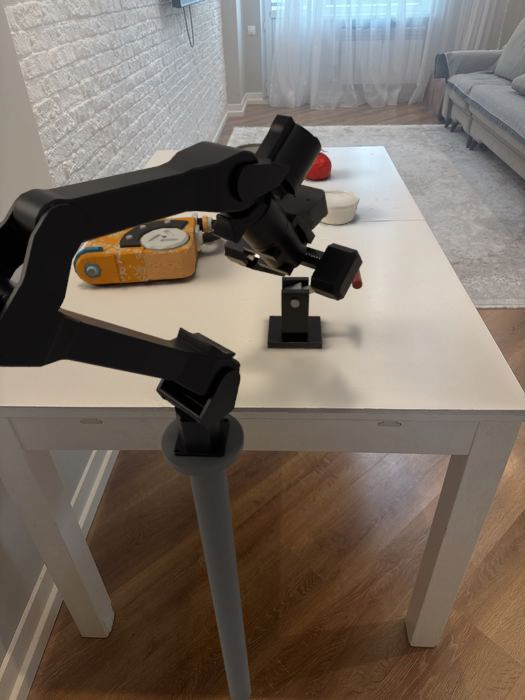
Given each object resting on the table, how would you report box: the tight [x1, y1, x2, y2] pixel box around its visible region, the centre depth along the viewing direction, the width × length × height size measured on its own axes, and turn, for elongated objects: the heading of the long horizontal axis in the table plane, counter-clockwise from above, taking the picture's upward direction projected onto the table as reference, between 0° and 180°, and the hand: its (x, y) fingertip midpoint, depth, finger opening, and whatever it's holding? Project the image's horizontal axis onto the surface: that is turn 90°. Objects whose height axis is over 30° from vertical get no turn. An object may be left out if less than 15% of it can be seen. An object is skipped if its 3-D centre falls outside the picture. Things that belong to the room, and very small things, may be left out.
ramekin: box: [320, 190, 360, 226], centre depth 122 cm, size 11×11×5 cm
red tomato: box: [305, 148, 333, 181], centre depth 147 cm, size 10×10×9 cm
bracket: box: [266, 276, 323, 349], centre depth 81 cm, size 9×8×10 cm
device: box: [72, 212, 222, 286], centre depth 105 cm, size 23×8×30 cm
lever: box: [285, 268, 364, 295], centre depth 78 cm, size 12×6×2 cm, turn 87°
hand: (310, 282), depth 71 cm, fingers open, 9 cm apart
